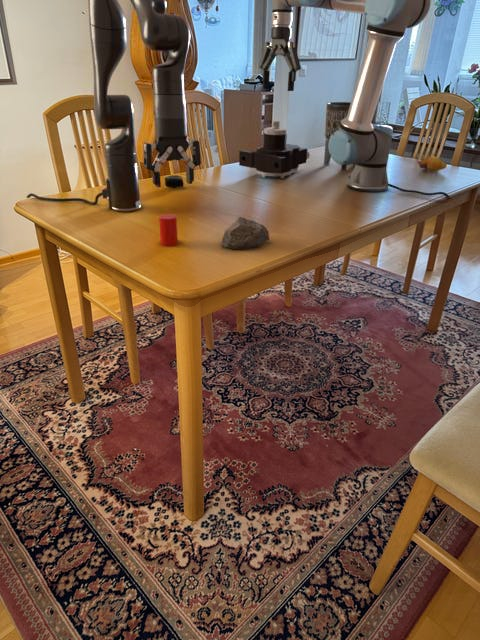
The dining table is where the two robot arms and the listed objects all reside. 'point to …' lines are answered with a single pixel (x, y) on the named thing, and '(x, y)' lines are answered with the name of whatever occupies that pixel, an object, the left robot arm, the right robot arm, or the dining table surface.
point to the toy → (432, 164)
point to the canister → (168, 229)
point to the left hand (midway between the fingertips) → (174, 184)
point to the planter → (334, 125)
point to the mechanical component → (274, 154)
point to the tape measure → (174, 181)
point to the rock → (245, 234)
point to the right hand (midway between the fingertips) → (277, 89)
